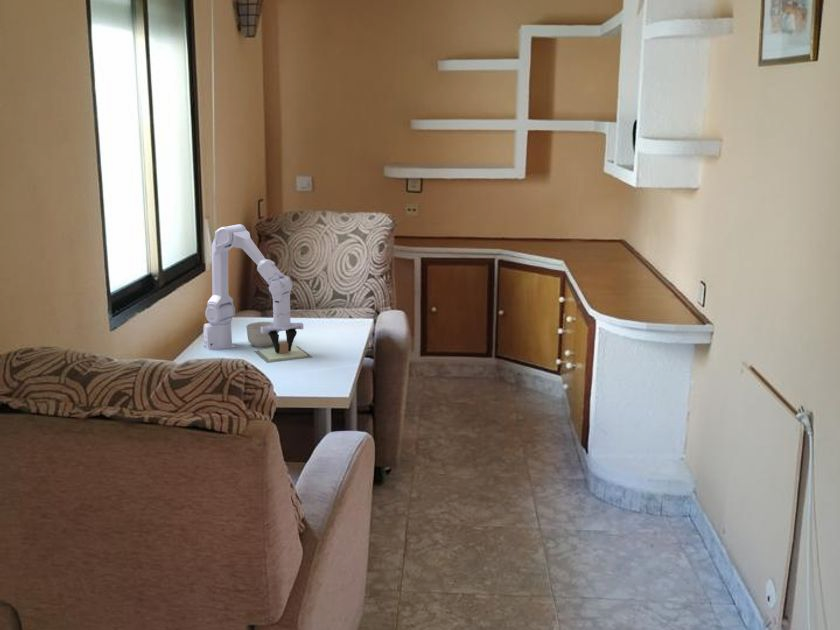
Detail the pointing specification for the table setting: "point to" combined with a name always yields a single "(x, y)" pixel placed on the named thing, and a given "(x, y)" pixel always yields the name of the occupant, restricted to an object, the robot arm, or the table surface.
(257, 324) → the teacup
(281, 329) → the robot arm
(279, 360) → the mat
